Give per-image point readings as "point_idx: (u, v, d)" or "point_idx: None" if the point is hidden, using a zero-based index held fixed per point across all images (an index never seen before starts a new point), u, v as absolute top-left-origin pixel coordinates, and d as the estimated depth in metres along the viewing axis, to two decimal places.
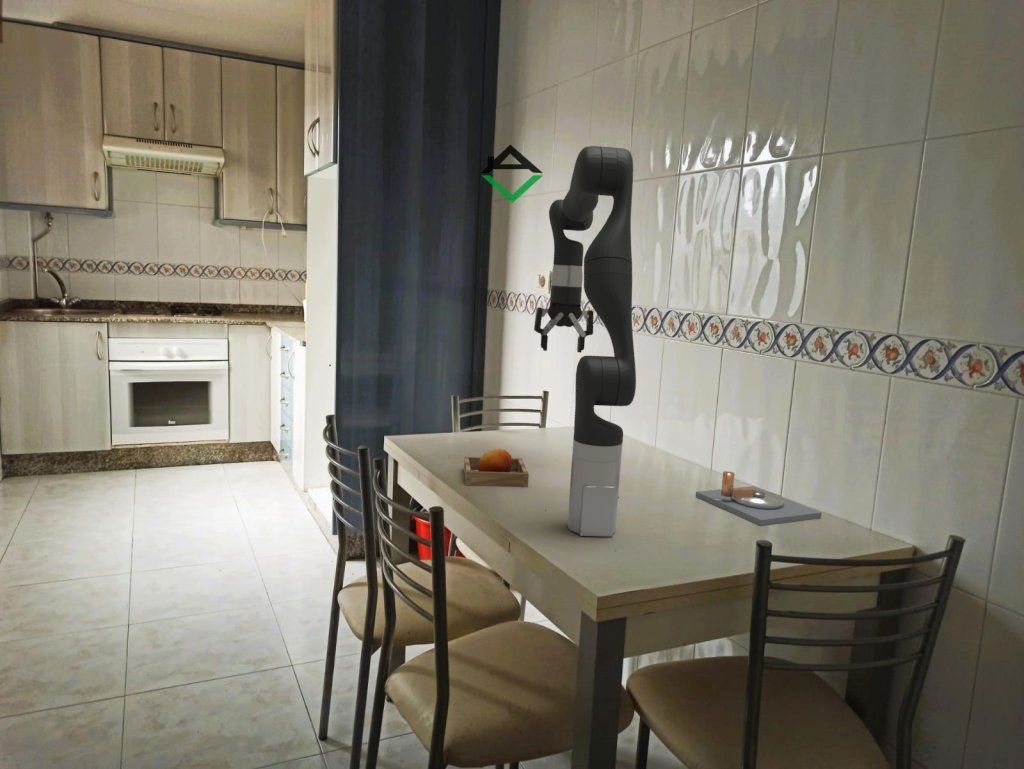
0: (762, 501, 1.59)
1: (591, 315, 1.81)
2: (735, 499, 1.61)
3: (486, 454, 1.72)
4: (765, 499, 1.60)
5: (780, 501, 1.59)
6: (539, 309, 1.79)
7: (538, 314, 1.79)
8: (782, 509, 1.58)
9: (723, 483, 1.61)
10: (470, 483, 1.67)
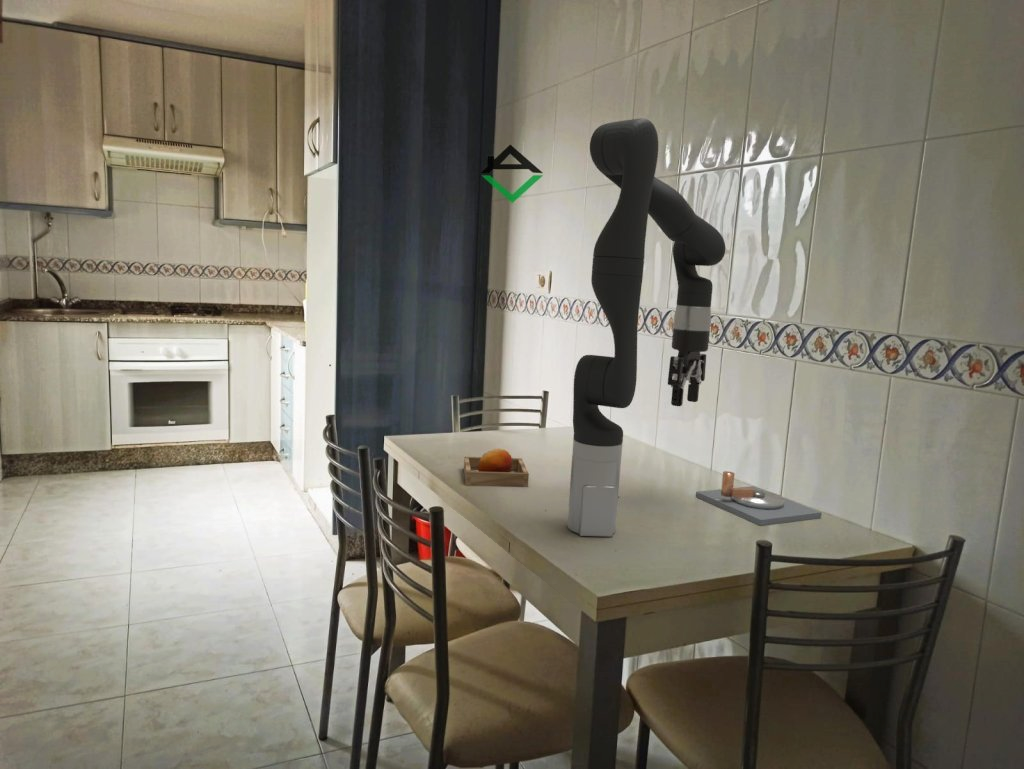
0: (762, 501, 1.59)
1: (705, 360, 1.62)
2: (735, 499, 1.61)
3: (486, 454, 1.72)
4: (765, 499, 1.60)
5: (780, 501, 1.59)
6: (682, 359, 1.52)
7: (681, 365, 1.52)
8: (782, 509, 1.58)
9: (723, 483, 1.61)
10: (470, 483, 1.67)
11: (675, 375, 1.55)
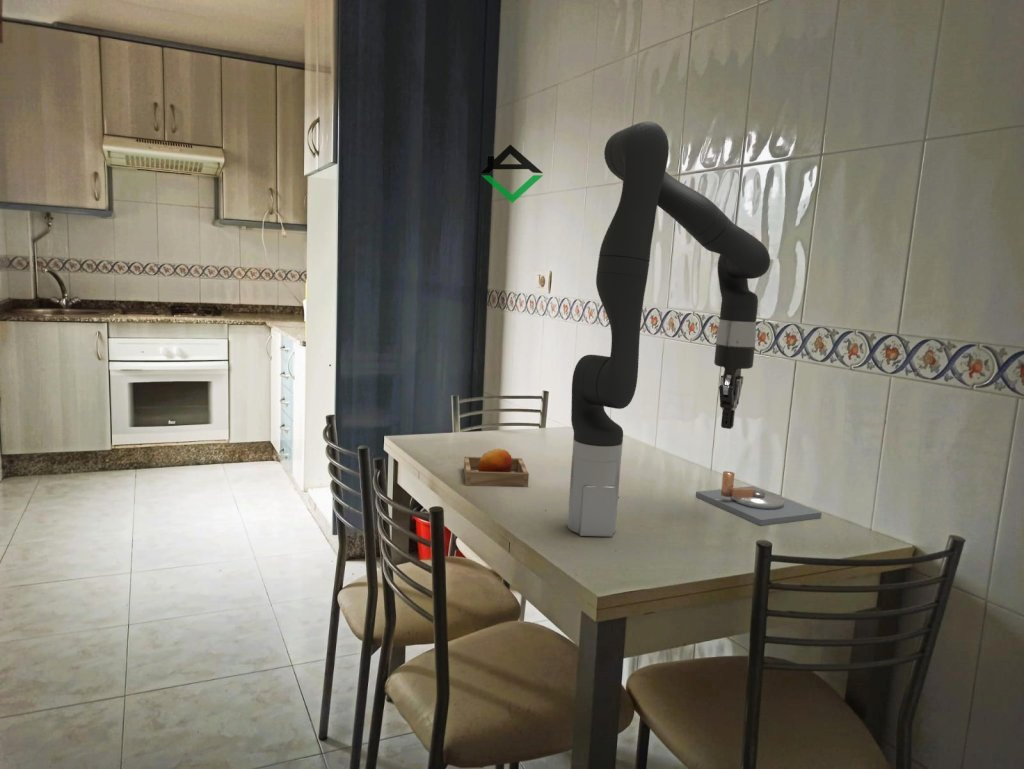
0: (762, 501, 1.59)
1: (741, 386, 1.55)
2: (735, 499, 1.61)
3: (486, 454, 1.72)
4: (765, 499, 1.60)
5: (780, 501, 1.59)
6: (732, 389, 1.45)
7: (732, 394, 1.46)
8: (782, 509, 1.58)
9: (723, 483, 1.61)
10: (470, 483, 1.67)
11: None
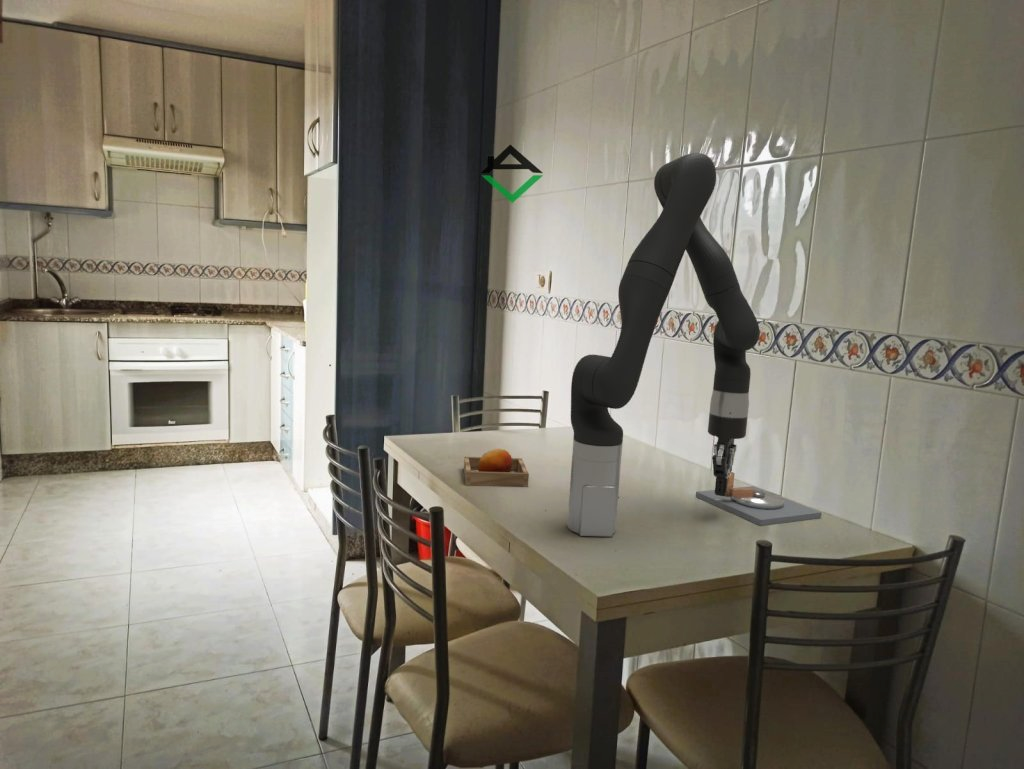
0: (762, 501, 1.59)
1: None
2: (735, 499, 1.61)
3: (486, 454, 1.72)
4: (765, 499, 1.60)
5: (780, 501, 1.59)
6: (725, 460, 1.47)
7: (725, 464, 1.48)
8: (782, 509, 1.58)
9: None
10: (470, 483, 1.67)
11: None
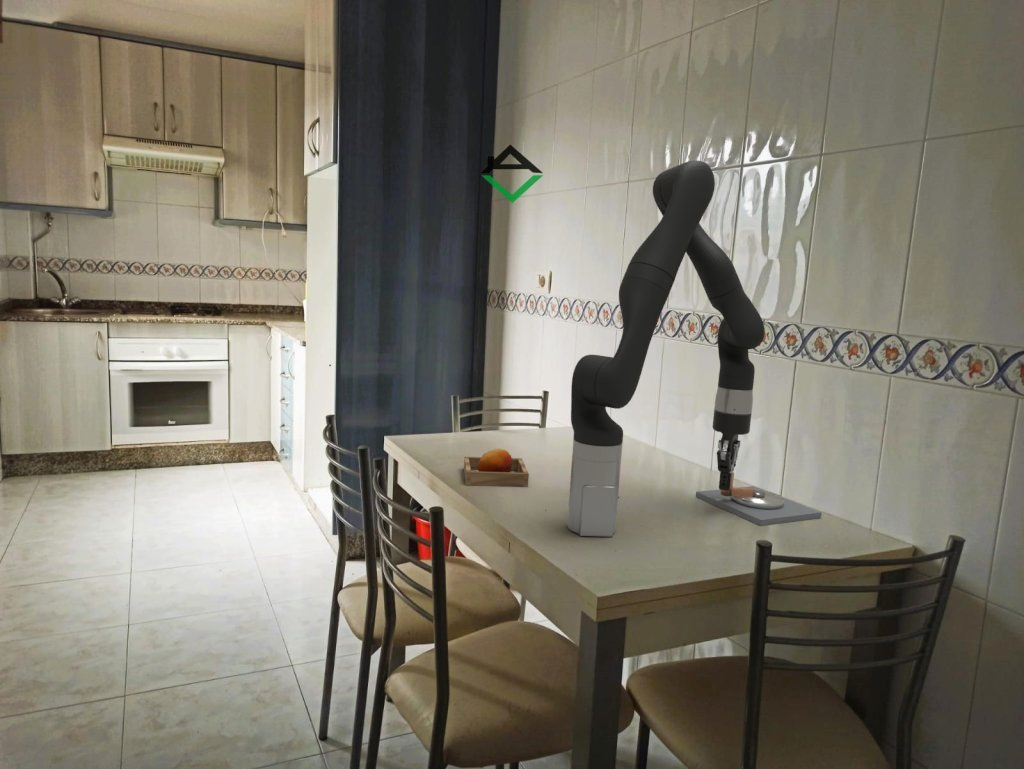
0: (761, 501, 1.59)
1: (738, 448, 1.61)
2: (734, 499, 1.61)
3: (486, 454, 1.72)
4: (764, 499, 1.60)
5: (780, 501, 1.59)
6: (729, 455, 1.51)
7: (729, 459, 1.52)
8: (782, 509, 1.58)
9: None
10: (470, 483, 1.67)
11: None
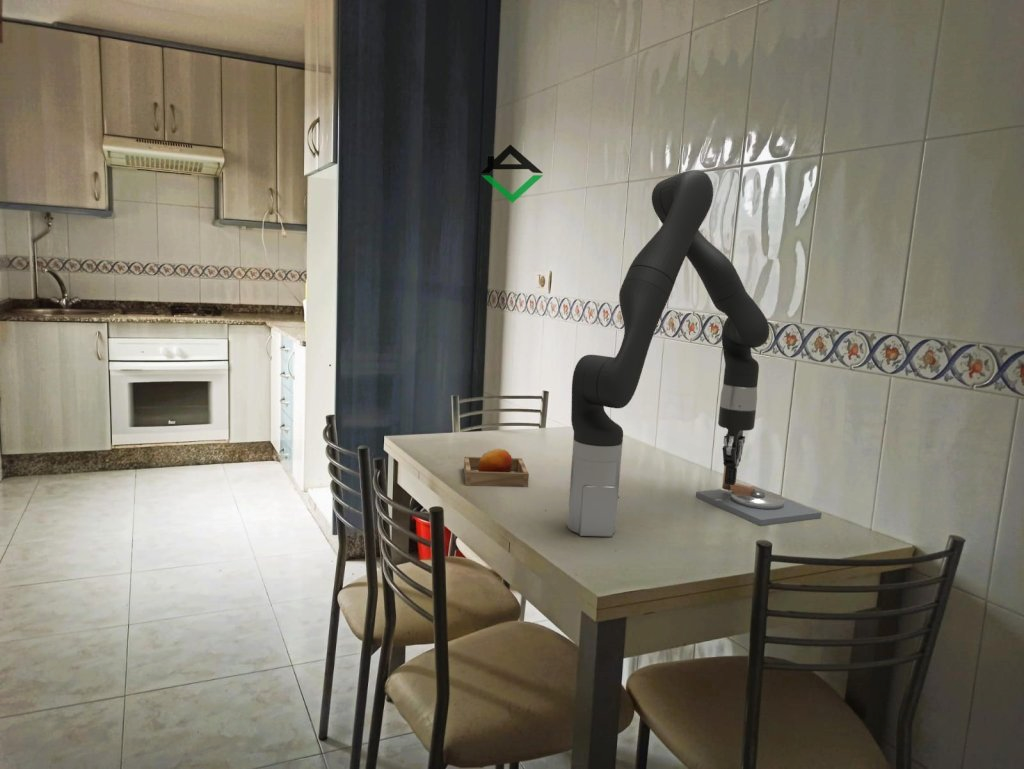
0: (747, 498, 1.60)
1: (743, 444, 1.66)
2: None
3: (486, 454, 1.72)
4: (755, 498, 1.60)
5: (766, 503, 1.57)
6: (735, 450, 1.56)
7: (734, 454, 1.57)
8: (782, 509, 1.58)
9: None
10: (470, 483, 1.67)
11: None
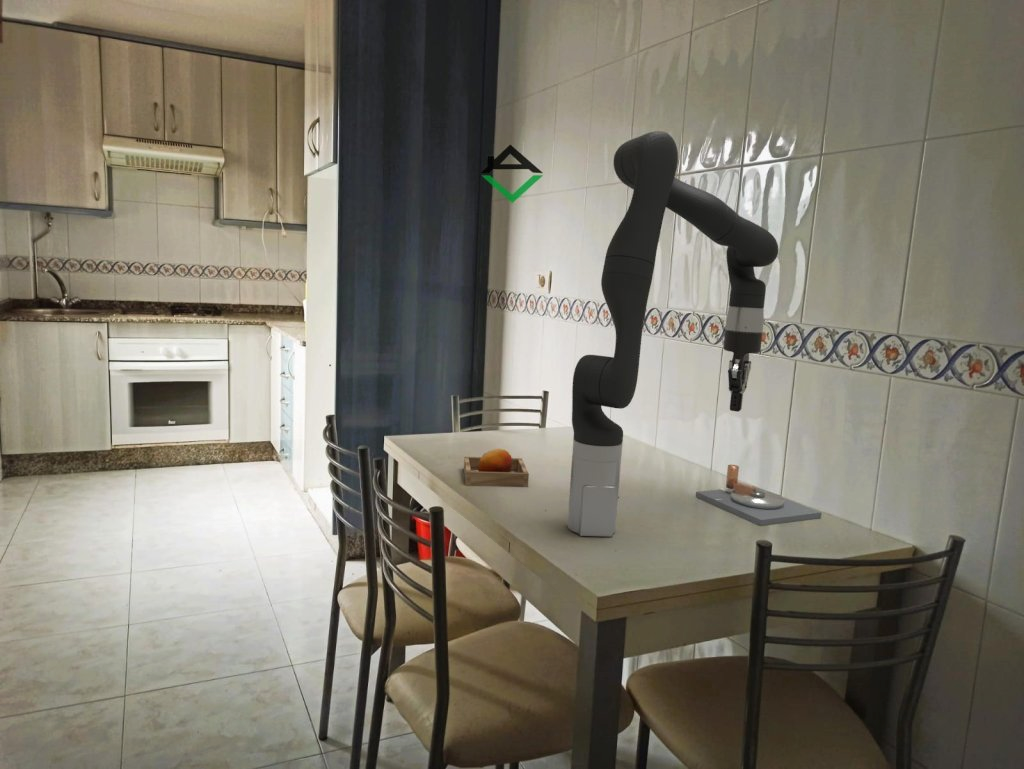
0: (744, 497, 1.61)
1: (749, 371, 1.61)
2: None
3: (486, 454, 1.72)
4: (752, 498, 1.60)
5: (761, 502, 1.57)
6: (740, 372, 1.51)
7: (740, 377, 1.52)
8: (782, 509, 1.58)
9: None
10: (470, 483, 1.67)
11: None
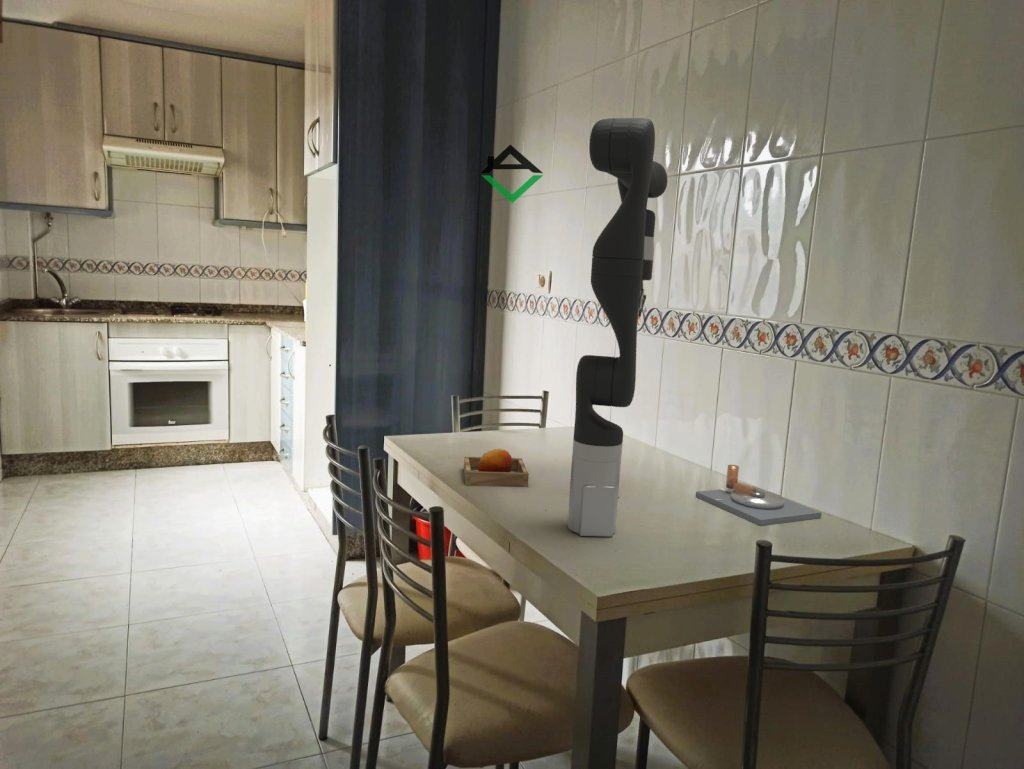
0: (744, 497, 1.61)
1: (644, 300, 1.69)
2: None
3: (486, 454, 1.72)
4: (752, 498, 1.60)
5: (761, 502, 1.57)
6: None
7: None
8: (782, 509, 1.58)
9: None
10: (470, 483, 1.67)
11: None
